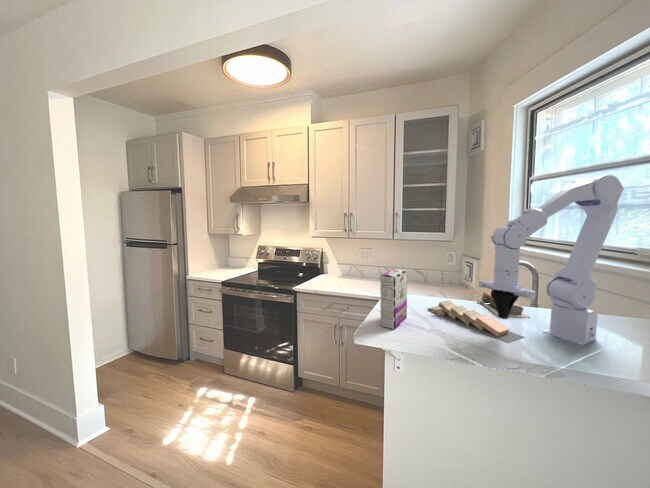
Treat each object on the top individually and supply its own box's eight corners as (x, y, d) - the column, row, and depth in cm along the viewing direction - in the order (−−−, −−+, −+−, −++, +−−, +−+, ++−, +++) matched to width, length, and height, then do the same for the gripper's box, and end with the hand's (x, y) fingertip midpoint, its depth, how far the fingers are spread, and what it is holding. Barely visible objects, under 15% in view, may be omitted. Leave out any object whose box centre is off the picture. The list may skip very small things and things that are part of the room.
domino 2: (466, 313, 95) (449, 300, 100) (456, 316, 92) (439, 302, 98) (464, 316, 95) (448, 303, 101) (454, 319, 93) (438, 305, 98)
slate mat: (525, 338, 80) (525, 337, 80) (507, 344, 76) (507, 343, 76) (452, 312, 101) (452, 311, 101) (435, 316, 98) (435, 314, 98)
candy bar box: (392, 315, 98) (393, 268, 96) (406, 318, 95) (408, 269, 94) (379, 326, 89) (379, 274, 87) (394, 330, 86) (395, 276, 84)
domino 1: (454, 308, 99) (438, 306, 105) (443, 310, 96) (427, 308, 103) (454, 312, 98) (438, 310, 105) (444, 315, 96) (428, 312, 103)
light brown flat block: (494, 323, 86) (474, 309, 92) (483, 326, 84) (463, 312, 89) (492, 327, 87) (472, 313, 92) (481, 330, 84) (462, 316, 90)
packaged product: (477, 290, 113) (504, 291, 111) (476, 302, 113) (503, 303, 112) (498, 305, 95) (531, 306, 94) (497, 319, 95) (530, 320, 94)
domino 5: (509, 329, 82) (487, 314, 88) (498, 332, 80) (476, 317, 85) (507, 333, 83) (486, 318, 88) (497, 336, 80) (475, 321, 86)
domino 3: (480, 318, 90) (462, 305, 96) (469, 321, 88) (451, 307, 93) (478, 322, 91) (460, 309, 96) (468, 325, 88) (450, 311, 94)
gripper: (472, 266, 84) (470, 312, 86) (525, 276, 71) (522, 329, 73) (488, 264, 87) (485, 308, 89) (541, 273, 74) (538, 324, 76)
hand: (503, 317), depth 81 cm, fingers closed
